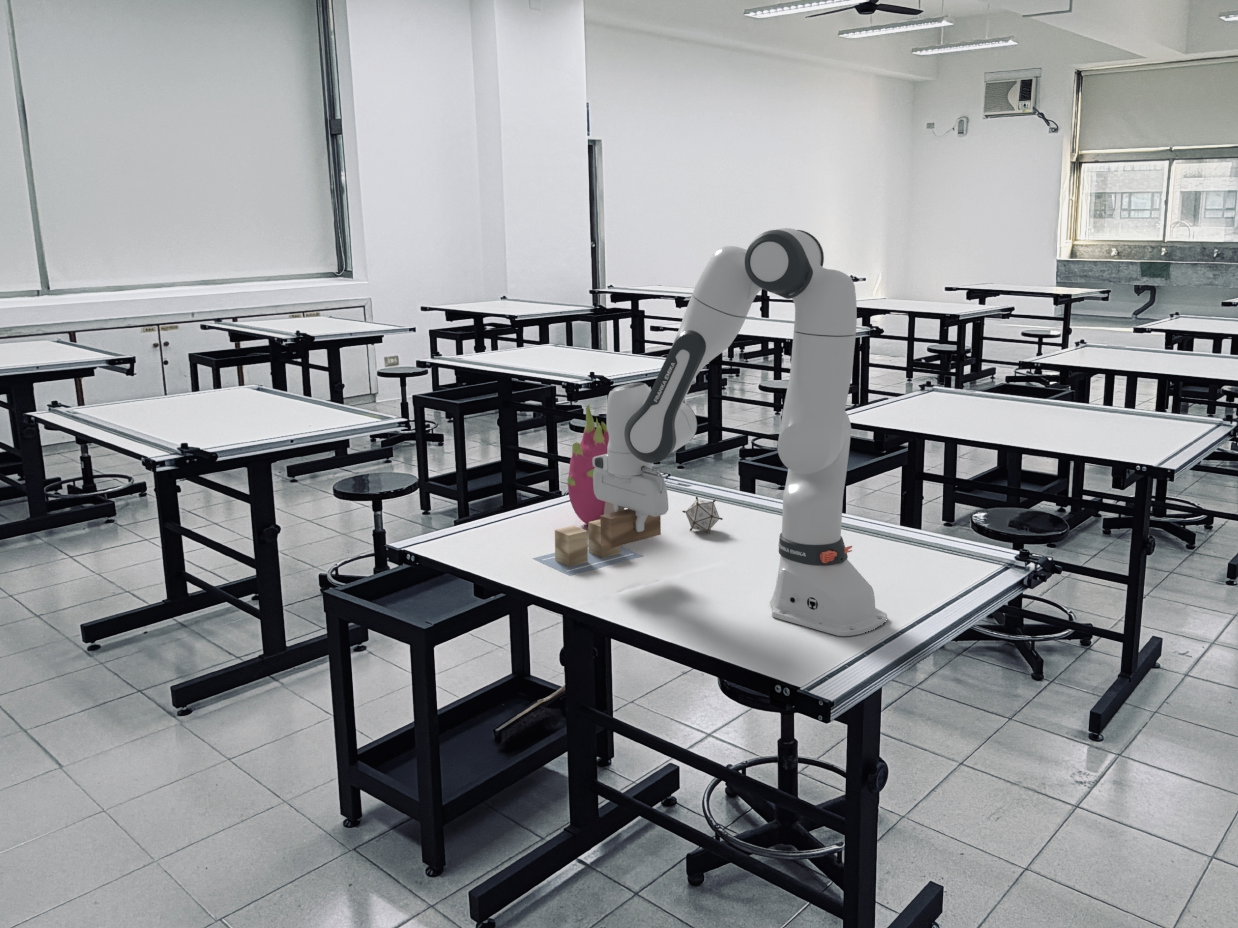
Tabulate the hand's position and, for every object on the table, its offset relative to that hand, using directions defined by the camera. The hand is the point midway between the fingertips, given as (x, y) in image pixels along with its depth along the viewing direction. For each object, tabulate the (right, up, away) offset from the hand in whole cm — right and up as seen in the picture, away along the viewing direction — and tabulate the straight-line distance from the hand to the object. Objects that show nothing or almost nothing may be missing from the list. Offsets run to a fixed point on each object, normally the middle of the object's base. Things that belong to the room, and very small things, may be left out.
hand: (631, 528), depth 210 cm
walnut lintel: (0, -2, 0) cm, 2 cm away
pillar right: (-6, -6, +16) cm, 18 cm away
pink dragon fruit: (-7, -2, +37) cm, 38 cm away
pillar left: (-13, -8, +11) cm, 18 cm away
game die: (+17, -3, +34) cm, 38 cm away
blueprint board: (-9, -8, +13) cm, 18 cm away
